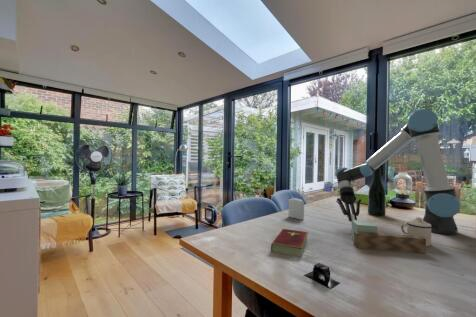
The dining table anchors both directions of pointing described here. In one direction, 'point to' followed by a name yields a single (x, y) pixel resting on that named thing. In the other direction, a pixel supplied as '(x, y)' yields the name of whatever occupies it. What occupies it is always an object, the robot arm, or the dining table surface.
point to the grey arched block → (296, 208)
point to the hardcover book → (290, 242)
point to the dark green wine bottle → (377, 196)
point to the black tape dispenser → (322, 276)
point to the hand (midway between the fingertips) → (354, 226)
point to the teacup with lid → (418, 229)
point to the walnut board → (390, 242)
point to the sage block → (363, 227)
